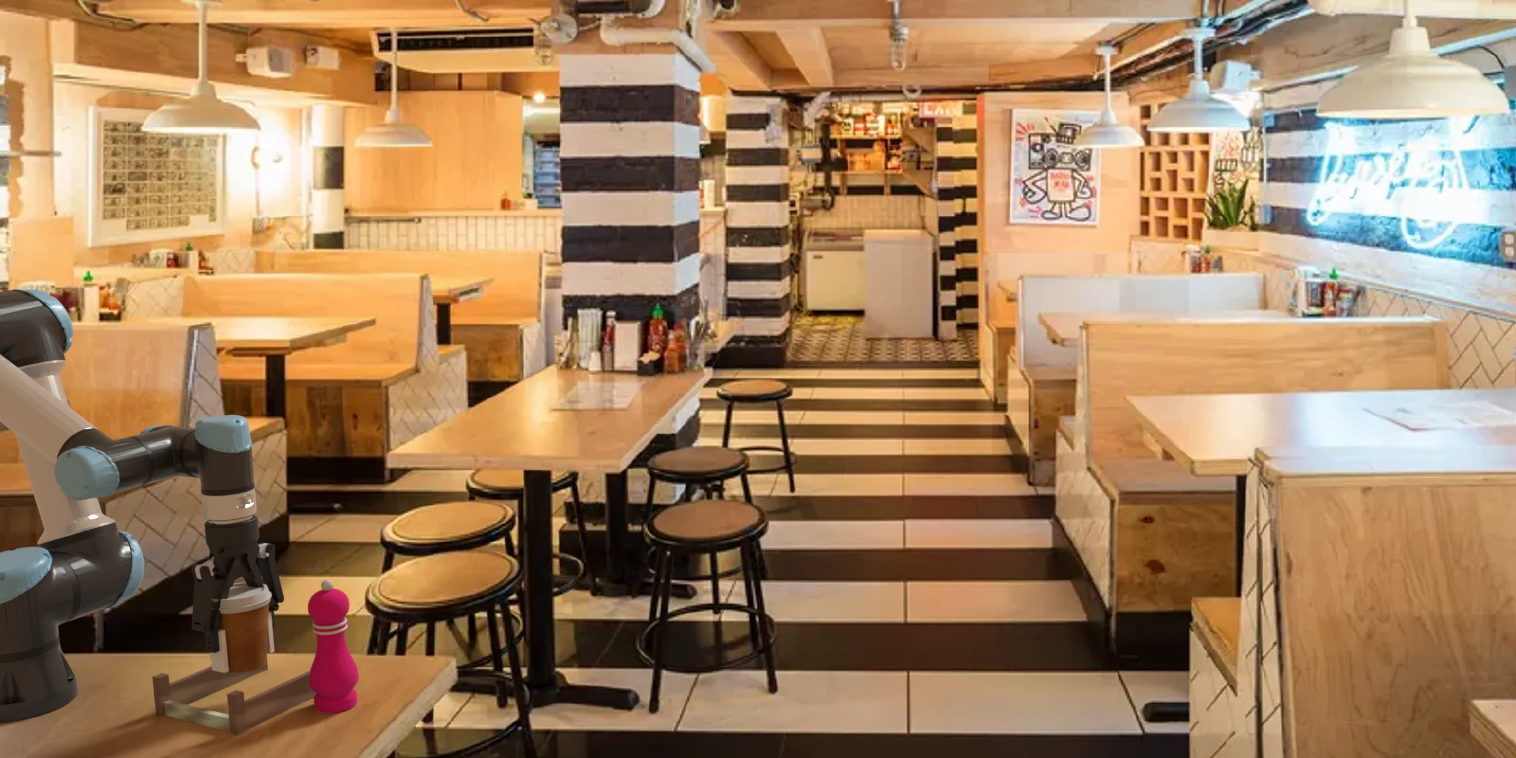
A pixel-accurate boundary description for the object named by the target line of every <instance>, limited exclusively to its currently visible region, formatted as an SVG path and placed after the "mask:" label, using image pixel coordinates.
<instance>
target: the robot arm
mask: <svg viewBox="0 0 1516 758" xmlns="http://www.w3.org/2000/svg"><path fill="white" fill-rule="evenodd" d="M70 317H71V316H70V315H69V313H68V311H67V309H66V308H65V307H64V305H63V304H62V303H61V302H60V301H59V300H58V299H57V298H56V297H55V296H53V295H51V294H49V293H48V292H46V291H44V290H39V289H17V288H14V289H10V290H1V291H0V423H1V424H2V425H4V427H6V428H7V429H9V430H11V432H13V433H14V435H15V438H16V441H17V445H18V449H19V451H20V454H21V458H22V461H23V464H24V467H25V471H26V474H27V477H28V480H29V483H30V486H31V490H32V494H33V497H34V500H35V502H36V503H35V504H36V506H37V510H38V513H39V515H40V518H41V523H42V526H43V528H44V530H43V532H42V534H41V536H40V537H39V540H38V541H37V545H38V546H25V547H24V546H23V547H17V548H16V549H14V550H9V549H8V550H4V551H1V552H0V722H1V723H2V722H11V721H16V720H23V719H28V718H32V717H36V716H40V715H43V714H46V713H49V712H52V711H55V710H56V709H59V708H62V707H63V706H65V705H67V704H68V703H70V702H72V701H73V700H74V699H75V698H76V696H77V695H78V683H77V677H76V675H75V674H74V671H73V669H72V668H71V666H70V663H69V661H68V659H67V658H66V656H65V654H64V652H63V651H62V648H61V643H60V636H59V635H60V634H59V626H60V625H62V624H64V623H67V622H70V621H73V620H77V619H79V618H82V617H85V616H87V615H90V614H93V613H95V612H99V611H101V610H105V609H106V610H107V609H109V608H112V607H115V606H116V605H117V604H120V603H122V602H124V601H127V600H128V599H130V598H131V597H132V596H133V595H135V593H137V591H138V589H139V587H140V584H141V583H142V581H143V578H144V574H145V573H144V572H145V558H144V555H143V551H142V548H141V546H140V544H139V542H138V541H137V539H134V536H132V534H130V533H129V532H127V531H123V530H118V529H119V528H118V526H117V522H116V520H115V519H113V518H111V517H109V516H108V515H105V514H104V513H103V512H102V510H101V505H100V503H99V500H98V499H101V498H103V497H107V496H109V495H113V494H116V493H121V492H123V491H126V490H127V491H128V490H130V489H133V488H138V487H143V486H146V485H149V484H153V483H157V482H161V481H164V480H169V479H173V478H177V477H185V478H196V479H199V480H200V482H199V483H200V493H201V504H202V515H203V519H204V520H206V521H205V523H204V524H203V525H204V535H205V543H206V545H207V547H208V550H209V554H208V557H207V561H205V562H203V563H201V564H193V565H191V573H192V576H193V583H194V584H193V598H192V599H193V600H192V615H191V629H192V630H193V631H198V632H201V633H202V632H203V633H204V635H205V646H206V650H207V652H208V653H210V659H211V660H210V662H211V666H212V670H213V671H218V672H223V673H226V672H228V671H229V668H228V657H227V646H226V635H225V630H222V629H220V626H221V622H222V618H223V616H222V614H221V611H220V610H219V609H220V604H221V600H222V599H227V598H228V594H229V590H230V588H231V587H232V586H233V584H235V580H237V579H239V578H240V577H242V578H243V579H244V581H245V582H246V583H247V585H248V586H249V587H255V588H261V587H263V584H265V585H267V587H268V590H269V592H271V594H272V596H271V598H270V602H269V612H268V634H267V654H272V653H274V652H275V643H274V640H275V639H274V633H273V630H274V629H275V628H276V620H275V612H277V611H278V610H279V609H280V605H279V603H280V604H282V603H284V601H285V595H284V591H283V588H282V583H281V578H280V575H279V572H278V567H277V562H276V559H275V557H276V545H275V544H274V543H266V542H259V543H258V541H259V538H260V529H259V519H258V517H257V516H256V515H255V514H256V513H257V511H258V510H257V509H258V508H257V497H256V488H255V487H256V486H255V485H256V484H255V478H254V477H255V475H254V464H253V463H254V462H253V441H252V437H251V433H250V426H249V422H248V420H247V418H245V417H244V416H242V415H238V414H227V415H226V414H221V415H220V414H218V415H211V416H207V417H206V416H205V417H202V418H199V419H197V421H196V422H195V425H194V427H184V426H176V425H172V424H164V425H152V426H149V427H146V428H144V429H143V430H142V431H141V432H140V433H139V434H135V435H131V436H127V437H126V436H125V437H121V438H117V439H113V438H111V437H109V436H108V435H107V434H106V433H104V432H102V431H101V430H99V429H98V428H97V427H96V426H94V425H93V424H92V423H90V422H89V421H88V420H87V419H85V418H84V417H82V415H80V414H79V413H77V412H76V411H75V410H74V409H72V408H71V407H70V405H69V402H68V399H67V396H66V392H65V388H64V386H63V381H62V379H61V376H60V375H61V372H62V370H63V369H64V368H65V366H66V364H67V360H66V357H65V354H66V353H67V352H68V351H69V350H70V348H71V347H72V345H73V339H72V338H73V337H74V328H73V322H72V320H71V318H70ZM256 561H257V562H256ZM222 579H223V580H222ZM211 598H212V599H218V601H217V602H213V601H212V599H211ZM212 608H215V609H212ZM212 622H213V623H212Z"/></svg>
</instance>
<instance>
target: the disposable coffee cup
mask: <svg viewBox="0 0 1516 758" xmlns="http://www.w3.org/2000/svg"><path fill="white" fill-rule="evenodd" d="M271 596H272V594H271V592H269V590H268V587H267V585H265V584H263V587H261V588H255V587H249V586H248V585H247V583H246V582H237V583H235V582H234V584H233V586H232V587H231V588H230V590H229V594H228V598H227V599H222V600H221V604H220V609H219V610H220V611H221V614H222V616H223V618H222V622H221V626H220V629H222V630H225V635H226V646H227V657H228V668H229V671H228V672H229V673H241V672H248V671H252V670H256V669H258V668H260V667H262V666H264V665H265V664H266V655H267V656H268V653H267V634H268V612H269V602H270V598H271ZM211 599H212V598H211ZM212 601H213V602H217V601H218V599H212ZM212 609H215V608H212ZM212 623H213V622H212Z"/></svg>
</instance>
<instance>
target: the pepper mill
mask: <svg viewBox="0 0 1516 758" xmlns="http://www.w3.org/2000/svg"><path fill="white" fill-rule="evenodd" d="M320 588H321V589H320V590H317V591H316V592H315V593H313V595H311V597H310V598H309V599H308V602H307V612H308V614H309V617H310V618H311V619H312V620H313V622H312V625H311V626H312V627H313V628H312V631H313V633H314V634H316V635H315V636H316V652H315V655H314V658H313V662H312V664H311V667H310V670H309V671H310V674H309V685H310V687H311V689H312V690H313V691H314V692H316V693H317V694H316V695H315V696H314V697H313V706H314V709H315V711H317V712H319V713H321V714H322V713H324V714H337V713H341V712H345V710H346V711H348V710H351V709H352V708H354V707H355V706H356V705H357V703H358V695H357V690H356V689H355V688H354V687H356V685H357V683H358V681H359V680H360V679H359V678H360V676H359V669H358V666H357V664H356V661H355V660H354V658H353V656H352V654H351V652H350V650H349V647H348V645H347V640H346V630H347V628H349V627H348V618H347V617H346V616H347V615H348V613H349V610H350V600H349V597H348V595H347V594H346V593H345V592H344V591H343V590H341V589H338V588H334V582H333V581H332V580H331V579H324V580H323V581H322V582H321V583H320ZM353 706H354V707H353Z"/></svg>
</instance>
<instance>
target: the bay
mask: <svg viewBox="0 0 1516 758" xmlns="http://www.w3.org/2000/svg"><path fill="white" fill-rule="evenodd" d="M268 665H269V664H268V654H267V655H266V664H265V665H264V666H262V667H260V668H258V669H256V670H252V671H248V672H241V673H229V672H226V673H223V672H218V671H213V670H212V665H210V666H209V667H206V668H203V669H201V670H199V671H196V672H194V673H191V674H189V675H186V676H184V677H182V678H179V679H177V680H175V681H172V682H170V675H169V674H168V673H162V672H160V673H158V674H155V675H152V677H151V678H152V688H153V698H154V707H155V710H154V711H155V715H156V716H162V717H164V716H166V717H171V718H174V719H178V720H182V721H187V722H189V723H193V724H197V725H201V726H206V727H210V728H214V729H218V730H222V731H226V732H229V733H230V734H233V735H235V736H239V735H242V734H243V733H245V732H247V730H249V729H252V728H253V727H256V726H258V725H260V724H261V723H263V722H266V721H267V720H269V719H271V718H274V717H276V716H279V715H280V714H283V713H284V712H287V711H288V710H291V709H293V708H295V707H297V706H298V705H300V704H302V703H305V702H307V701H309V700H312V699H314V696H315V695H316V694H317V693H316V692H314V691H313V690H312V689H311V687H310V685H309V674H310V670H308V671H306V672H304V673H302V674H300V675H298V676H295V677H292V678H291V679H288V680H287V681H284V682H282V683H280V684H277V685H276V686H275V685H274V686H273V687H271V688H269V689H267V690H265V691H263V692H260V693H259V694H255V695H254V696H252V697H249V698H247V699H245V692H244V691H243V690H237V689H236V690H233V691H230V692H229V693H226V697H227V698H226V699H227V709H228V714H227V713H223V712H218V711H214V710H211V709H206V708H202V707H199V706H198V707H197V706H194V705H190V704H192V703H195V702H197V701H199V700H201V699H202V698H205V697H208V696H210V695H212V694H215V693H217V692H219V691H221V690H223V689H225V688H228V687H230V686H232V685H235V684H237V683H240V682H241V681H244V680H246V679H249V678H251V677H253V676H255V674H256V675H257V674H260V673H262V672H264V671H267V670H268V669H269V668H268V667H269V666H268ZM257 724H258V725H257ZM255 725H256V726H255Z"/></svg>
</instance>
